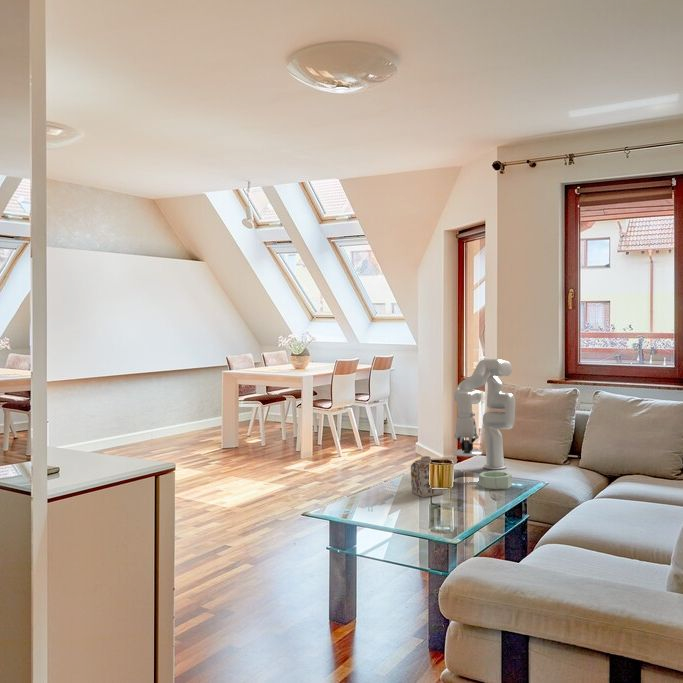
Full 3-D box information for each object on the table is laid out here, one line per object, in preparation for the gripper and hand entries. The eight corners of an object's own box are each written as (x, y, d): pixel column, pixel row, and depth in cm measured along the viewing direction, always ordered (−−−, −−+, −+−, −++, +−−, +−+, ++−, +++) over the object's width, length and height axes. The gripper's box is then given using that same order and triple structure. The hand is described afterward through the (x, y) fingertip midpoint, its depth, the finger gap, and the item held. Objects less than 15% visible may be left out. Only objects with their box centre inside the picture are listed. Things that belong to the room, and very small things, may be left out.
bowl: (486, 482, 348) (486, 470, 348) (514, 484, 340) (514, 472, 340) (475, 488, 336) (475, 476, 336) (504, 490, 328) (504, 478, 328)
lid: (459, 449, 363) (458, 437, 363) (487, 451, 355) (486, 438, 355) (447, 455, 350) (446, 442, 350) (475, 457, 342) (475, 443, 341)
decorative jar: (432, 489, 337) (430, 453, 337) (444, 494, 327) (442, 457, 326) (410, 493, 333) (409, 456, 333) (422, 497, 322) (420, 460, 322)
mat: (459, 476, 364) (459, 475, 364) (489, 479, 355) (489, 477, 355) (446, 483, 350) (446, 482, 350) (477, 486, 340) (477, 484, 340)
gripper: (482, 414, 351) (484, 449, 351) (453, 414, 360) (455, 448, 360) (477, 417, 344) (479, 452, 345) (447, 416, 353) (449, 451, 354)
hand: (467, 450), depth 353 cm, fingers closed on lid, 3 cm apart
